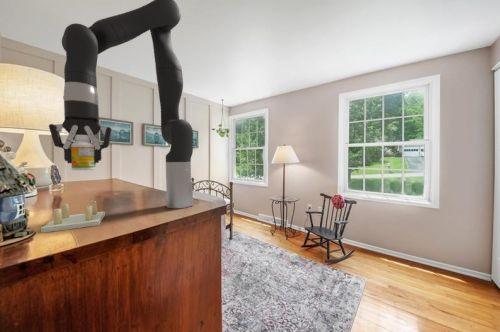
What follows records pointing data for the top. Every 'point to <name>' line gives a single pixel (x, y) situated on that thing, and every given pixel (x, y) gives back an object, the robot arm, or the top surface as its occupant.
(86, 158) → the supplement bottle
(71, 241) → the top surface
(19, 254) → the top surface
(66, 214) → the standoff chassis
